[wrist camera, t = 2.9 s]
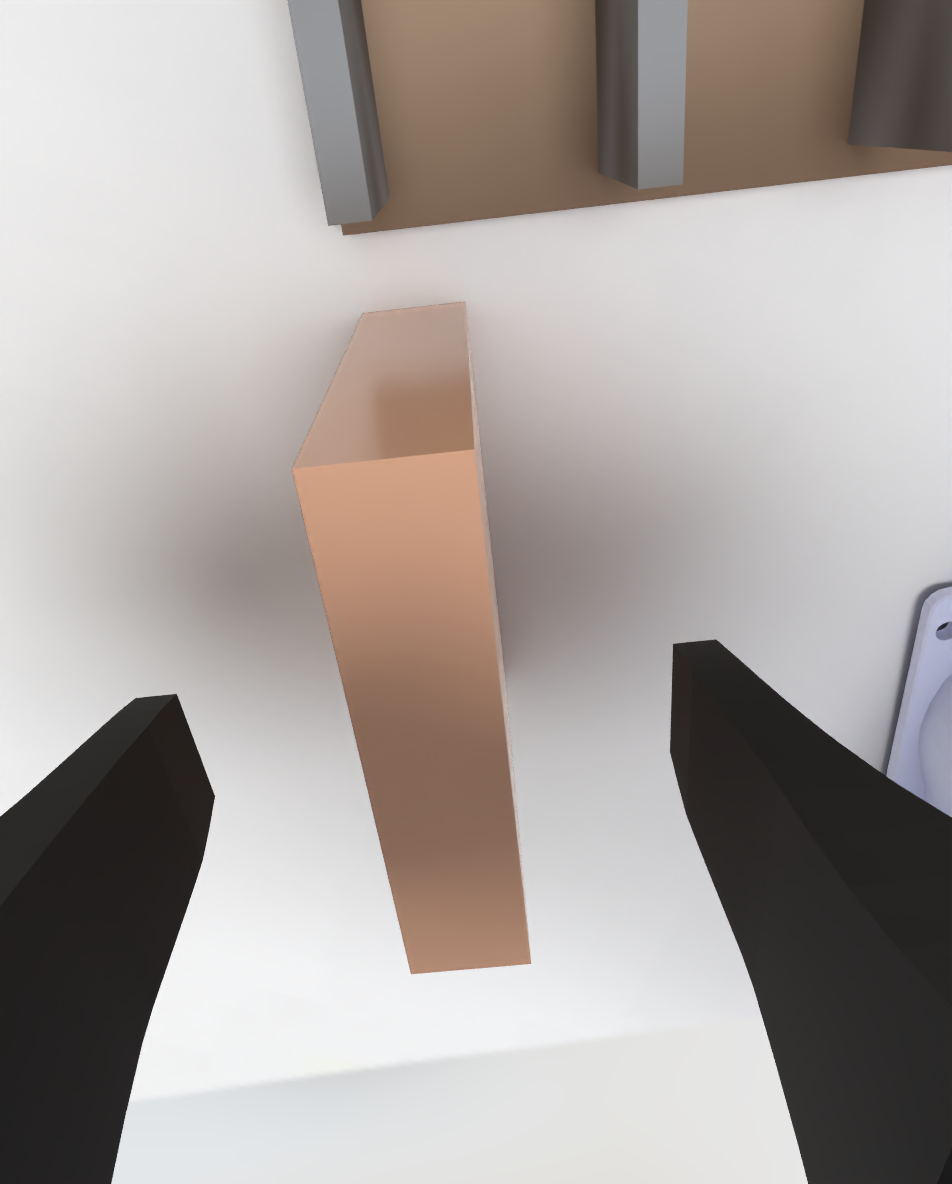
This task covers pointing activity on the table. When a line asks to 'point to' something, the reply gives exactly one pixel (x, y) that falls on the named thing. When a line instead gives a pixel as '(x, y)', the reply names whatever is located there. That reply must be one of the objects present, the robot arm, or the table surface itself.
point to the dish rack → (610, 100)
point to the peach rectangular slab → (420, 630)
